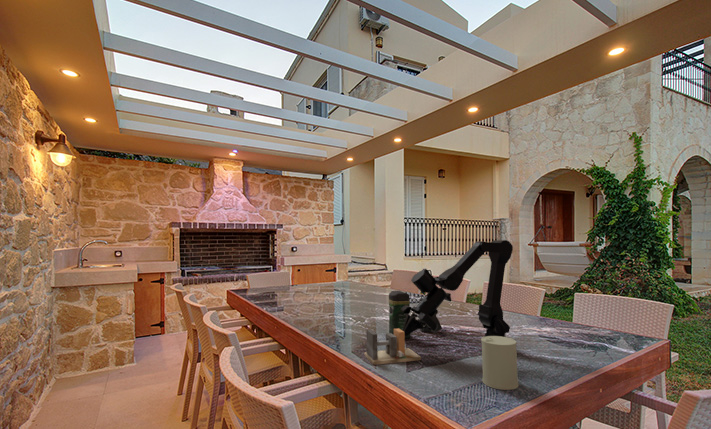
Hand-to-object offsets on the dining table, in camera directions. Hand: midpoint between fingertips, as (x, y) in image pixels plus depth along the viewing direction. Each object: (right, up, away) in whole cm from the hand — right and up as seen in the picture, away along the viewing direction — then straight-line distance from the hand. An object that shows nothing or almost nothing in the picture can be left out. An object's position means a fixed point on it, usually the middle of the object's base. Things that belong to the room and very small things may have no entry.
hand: (402, 336), depth 120 cm
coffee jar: (+2, -9, +25) cm, 26 cm away
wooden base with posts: (-4, -7, -2) cm, 8 cm away
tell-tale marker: (-2, -5, -5) cm, 7 cm away
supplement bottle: (+16, -10, +34) cm, 39 cm away
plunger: (-4, -5, -3) cm, 7 cm away
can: (+24, -5, -24) cm, 34 cm away
